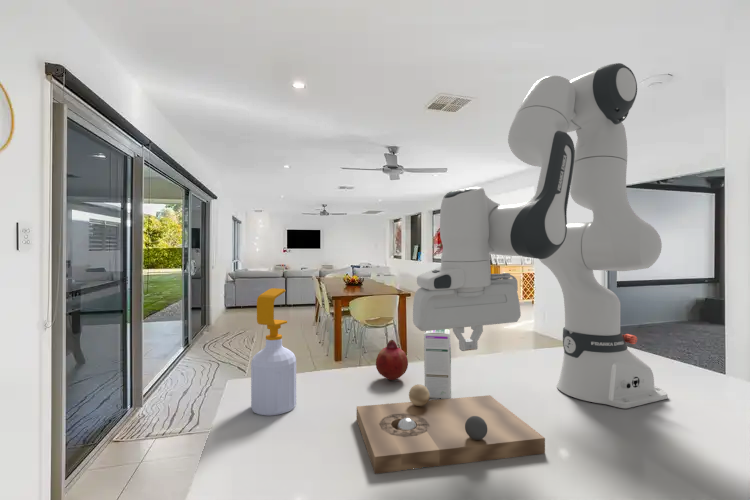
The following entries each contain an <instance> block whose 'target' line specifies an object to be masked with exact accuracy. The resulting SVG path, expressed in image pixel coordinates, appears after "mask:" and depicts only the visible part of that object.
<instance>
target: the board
mask: <svg viewBox="0 0 750 500" xmlns="http://www.w3.org/2000/svg"><path fill="white" fill-rule="evenodd" d="M472 416H478V417H481V418H482V419H483V420H484V421H485V422H486V424H487V434H486V436H485V437H484V438H483V439H480V440H474V439H472V438H470V437H469V436H468V434H467V433H466V430H465V423H466V421H467V419H468V418H470V417H472ZM403 418H411V419H412V420H414V422H415V423H416V425H417V427H416V428H415V429H413V430H408V431H402V430H397V425H398V423H399V421H400V420H401V419H403ZM356 422H357V425H358V427H359V430H360V434H361V436H362V437H361V438H362V439H363V442H364V446H365V448H366V452H367V455H368V458H369V460H370V463H371V466H372V469H373V472H374V474H375V475H376V474H383V473H384V474H385V473H386V474H387V473H393V472H401V470H403V471H408V470H407V469H411V470H416V469H415V468H419V469H423V468H422V467H428V468H434V466H436V467H443V466H451V465H458V464H459V465H460V464H468V463H475V462H476V463H477V462H485V461H494V460H500V459H509V458H519V457H526V456H535V455H541V454H546V437H544V436H543V435H542V434H541V433H539V432H538V430H537V431H536V429H534V428H533V427H532V426H530V425H529V424H528V423H527V422H525V421H524V420H523V419H521V418H520V417H518V416H517V415H516V414H515V413H513V412H512V411H511V410H510V409H509V408H507V407H506V406H504V405H503V404H502V403H500V402H499V401H498V400H497V399H496V398H494V397H493V396H491V395H489V394H488V395H477V396H468V397H467V396H465V397H453V398H452V397H451V398H450V399H429V401H428V402H427V404H425V405H424V406H416V405H414V404H413V403H412V402H411V401H407V402H405V401H404V402H395V403H382V404H370V405H359V406H357V405H356ZM413 468H414V469H413Z"/></svg>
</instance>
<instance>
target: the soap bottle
mask: <svg viewBox="0 0 750 500" xmlns="http://www.w3.org/2000/svg"><path fill="white" fill-rule="evenodd" d="M284 293H286V289H285V288H278V287H277V288H275V287H273V288H272V287H271V288H268V289H267V290H265V291H264V292H263V293H261V294H260V295H259V296H258V297H257V299H256V322H257V324H258V325H263V326H266V330H267V329H268V330H269V334H267V335H266V336H265V346H264V347H263V348H261V350H259V351H258V352H256V353H255V354H254V355H253V356H252V359H251V362H250V370H251V371H250V372H251V373H250V378H251V379H250V380H251V381H250V387H251V388H250V389H251V391H250V393H251V394H250V397H251V398H250V400H251V401H250V404H251V406H250V408H251V411H252V412H253V413H255V414H256V415H259V416H277V415H278V416H279V415H283V414H285V413H288V412H290V411H292V410H293V409H294V408H295V406H296V405H297V357H296V356H295V353H294V352H293V351H292V350H290V349H288V348H287V347H284V346H283V334H279V329H281V328H282V327H281V326H282V325H285V324H288V320H283V319H275V315H274V314H275V312H274V311H275V309H274V308H275V300H276V299H277V298H278V297H279V296H282V294H284Z"/></svg>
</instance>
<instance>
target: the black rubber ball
mask: <svg viewBox="0 0 750 500" xmlns="http://www.w3.org/2000/svg"><path fill="white" fill-rule="evenodd" d="M465 430H466V433H467V434H468V436H469V437H470V438H472V439H474V440H480V439H483V438H484V437H485V436H486V434H487V424H486V422H485V421H484V420H483V419H482V418H481V417H478V416H472V417H470V418H468V419H467V421H466V423H465Z"/></svg>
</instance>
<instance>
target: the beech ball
mask: <svg viewBox="0 0 750 500" xmlns="http://www.w3.org/2000/svg"><path fill="white" fill-rule="evenodd" d="M408 398H409V402H412V403H413V404H414V405H416V406H424V405H425V404H427V402H428V401H429V400H430V399H431V398H430V394H429V391H428V389H427V388H426V387H425V385H423V384H414V385H413V386H411V387H410V390H409V392H408Z"/></svg>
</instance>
